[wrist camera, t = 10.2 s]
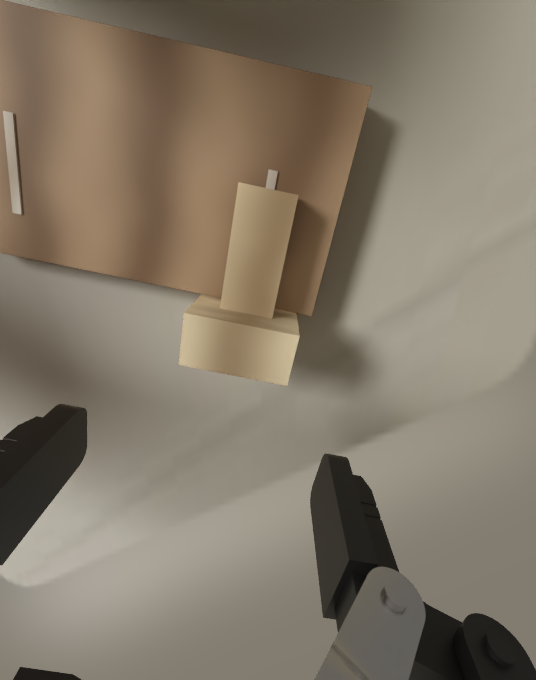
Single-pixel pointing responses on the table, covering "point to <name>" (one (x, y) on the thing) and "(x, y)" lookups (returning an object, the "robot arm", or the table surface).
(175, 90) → the oak board
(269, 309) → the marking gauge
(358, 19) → the table surface
